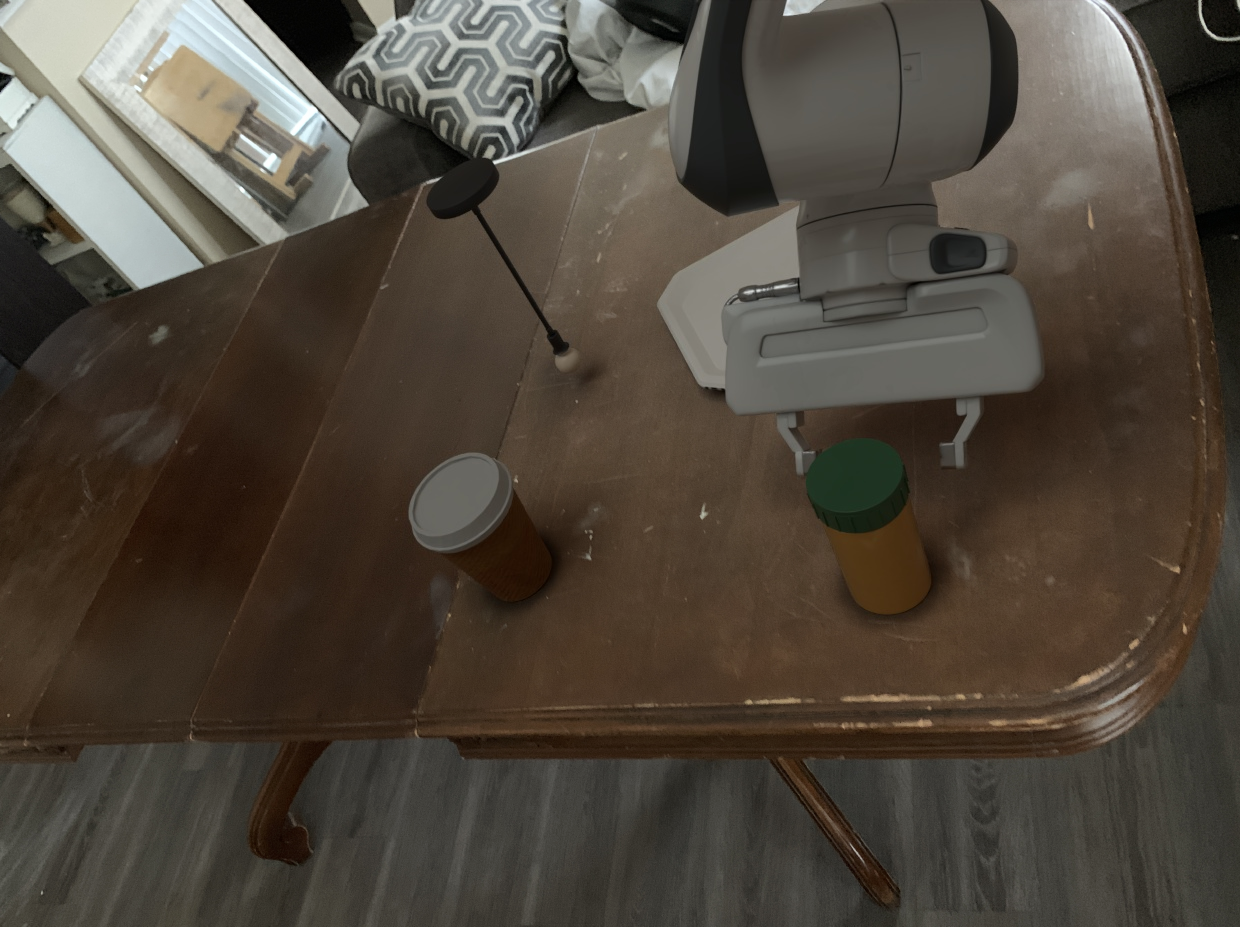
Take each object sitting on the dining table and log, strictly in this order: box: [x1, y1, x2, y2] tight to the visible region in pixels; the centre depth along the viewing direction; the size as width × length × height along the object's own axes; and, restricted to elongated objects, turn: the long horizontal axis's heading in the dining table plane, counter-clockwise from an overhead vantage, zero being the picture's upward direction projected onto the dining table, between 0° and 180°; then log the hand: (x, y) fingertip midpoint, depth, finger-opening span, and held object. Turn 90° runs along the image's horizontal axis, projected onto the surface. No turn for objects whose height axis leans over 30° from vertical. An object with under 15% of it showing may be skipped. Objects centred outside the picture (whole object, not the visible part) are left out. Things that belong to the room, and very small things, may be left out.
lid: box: [805, 437, 911, 534], centre depth 56 cm, size 6×6×2 cm
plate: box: [656, 204, 800, 392], centre depth 86 cm, size 21×21×2 cm
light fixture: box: [425, 157, 582, 375], centre depth 85 cm, size 7×7×25 cm
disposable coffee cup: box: [408, 452, 553, 603], centre depth 77 cm, size 10×10×12 cm
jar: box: [820, 495, 932, 616], centre depth 60 cm, size 6×6×12 cm
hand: (879, 472), depth 62 cm, fingers open, 8 cm apart
